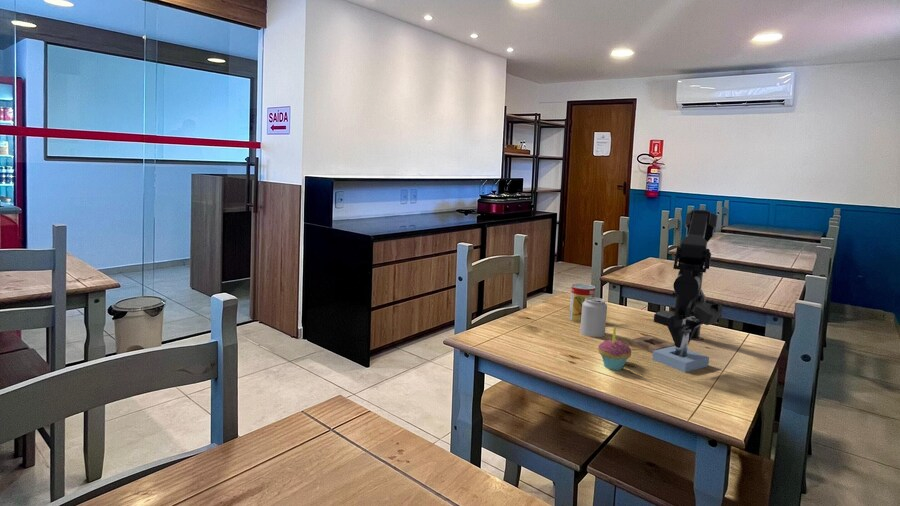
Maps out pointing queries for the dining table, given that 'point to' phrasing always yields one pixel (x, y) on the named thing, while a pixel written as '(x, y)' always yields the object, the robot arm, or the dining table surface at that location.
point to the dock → (680, 359)
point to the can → (593, 317)
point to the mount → (650, 343)
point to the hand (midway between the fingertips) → (681, 346)
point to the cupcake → (614, 353)
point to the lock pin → (683, 344)
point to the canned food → (579, 299)
